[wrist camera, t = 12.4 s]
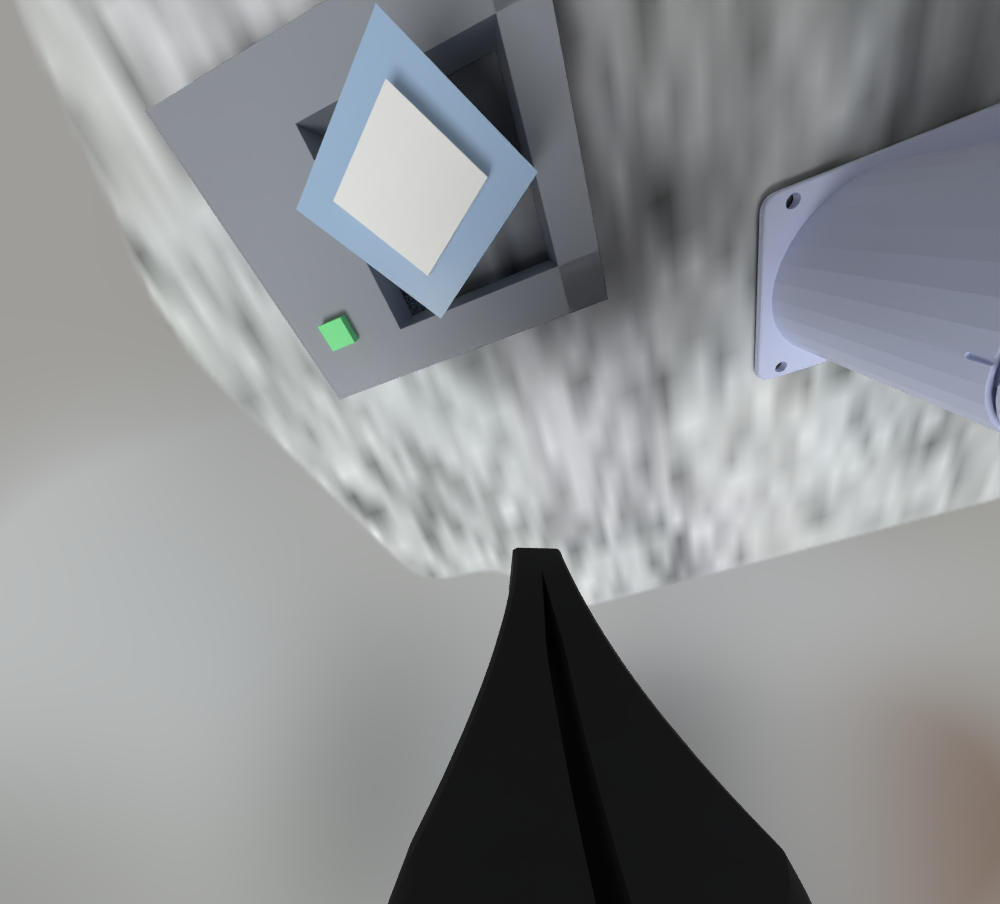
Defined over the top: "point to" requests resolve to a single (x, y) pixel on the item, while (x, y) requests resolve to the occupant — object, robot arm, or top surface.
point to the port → (295, 144)
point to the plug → (412, 170)
